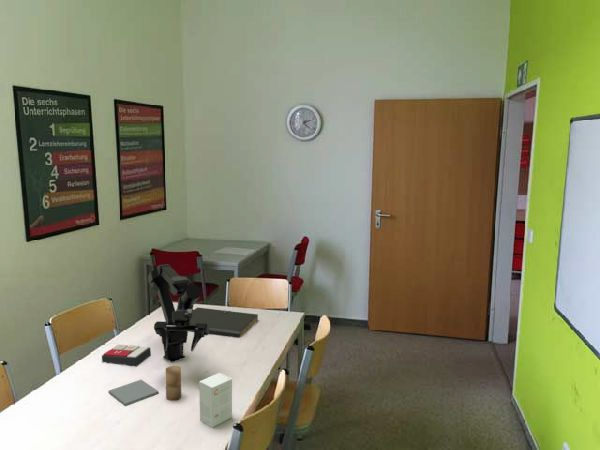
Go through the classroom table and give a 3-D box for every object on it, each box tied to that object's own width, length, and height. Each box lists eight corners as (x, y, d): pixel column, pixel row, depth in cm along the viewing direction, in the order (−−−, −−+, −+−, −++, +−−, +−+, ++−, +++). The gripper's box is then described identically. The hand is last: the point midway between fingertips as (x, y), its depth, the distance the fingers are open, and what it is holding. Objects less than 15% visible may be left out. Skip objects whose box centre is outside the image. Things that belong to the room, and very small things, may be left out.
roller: (176, 391, 167) (175, 364, 165) (184, 396, 163) (183, 369, 162) (163, 396, 163) (162, 368, 162) (171, 402, 160) (170, 373, 158)
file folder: (258, 313, 239) (239, 331, 216) (258, 321, 239) (239, 339, 216) (197, 306, 247) (173, 322, 224) (197, 314, 248) (173, 331, 225)
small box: (219, 410, 155) (219, 372, 153) (232, 417, 151) (232, 378, 149) (199, 420, 149) (198, 380, 147) (212, 428, 145) (212, 387, 143)
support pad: (141, 381, 173) (141, 379, 173) (158, 393, 165) (158, 391, 165) (108, 392, 165) (108, 390, 165) (125, 406, 157) (125, 403, 156)
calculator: (117, 343, 199) (150, 345, 195) (118, 353, 199) (151, 355, 196) (101, 353, 188) (135, 356, 185) (101, 364, 189) (136, 367, 185)
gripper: (154, 299, 171) (146, 341, 162) (207, 300, 172) (202, 342, 162) (160, 313, 180) (153, 354, 171) (211, 314, 181) (206, 354, 171)
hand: (178, 351), depth 169 cm, fingers open, 9 cm apart
